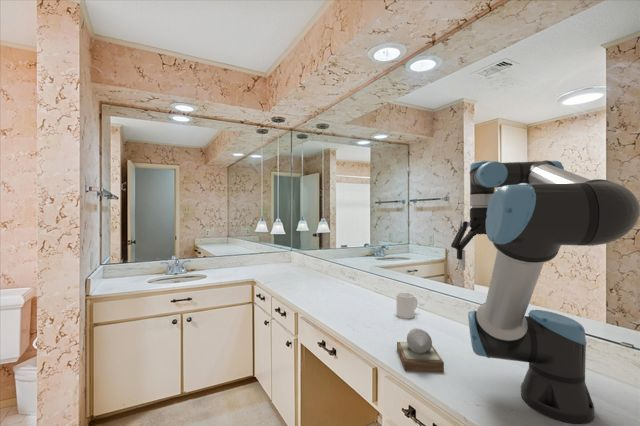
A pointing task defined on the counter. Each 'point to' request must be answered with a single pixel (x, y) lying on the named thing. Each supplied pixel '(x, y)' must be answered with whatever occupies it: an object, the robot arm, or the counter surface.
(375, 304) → the counter surface
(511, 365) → the counter surface
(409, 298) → the mug
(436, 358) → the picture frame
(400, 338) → the counter surface
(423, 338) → the seashell
